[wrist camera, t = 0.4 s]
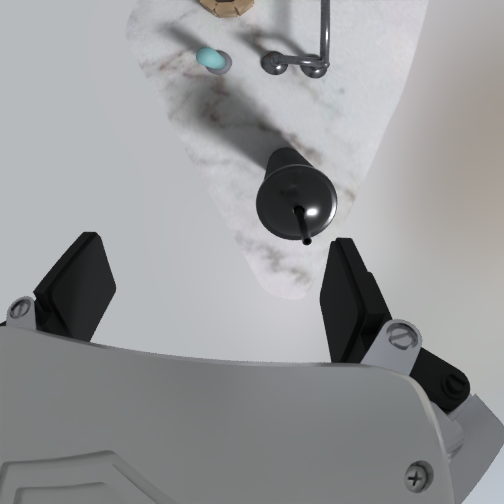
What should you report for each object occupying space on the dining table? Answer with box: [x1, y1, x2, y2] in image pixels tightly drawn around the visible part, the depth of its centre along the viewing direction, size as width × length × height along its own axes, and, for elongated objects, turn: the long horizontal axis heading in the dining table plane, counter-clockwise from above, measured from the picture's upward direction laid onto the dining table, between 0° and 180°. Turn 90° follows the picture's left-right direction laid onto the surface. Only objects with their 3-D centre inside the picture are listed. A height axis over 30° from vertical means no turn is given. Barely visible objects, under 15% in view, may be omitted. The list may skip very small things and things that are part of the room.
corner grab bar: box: [262, 0, 330, 78], centre depth 23 cm, size 15×8×6 cm, turn 179°
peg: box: [196, 47, 232, 75], centre depth 25 cm, size 3×3×9 cm
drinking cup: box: [256, 148, 337, 245], centre depth 28 cm, size 8×8×20 cm
